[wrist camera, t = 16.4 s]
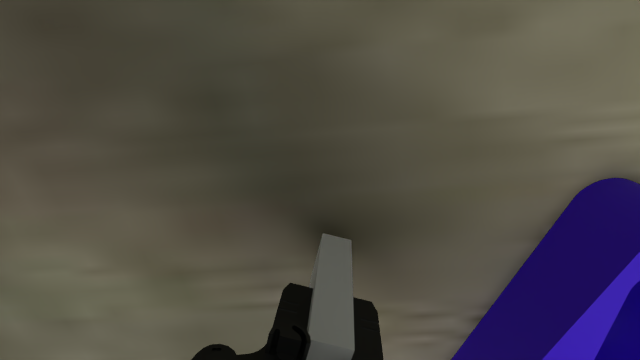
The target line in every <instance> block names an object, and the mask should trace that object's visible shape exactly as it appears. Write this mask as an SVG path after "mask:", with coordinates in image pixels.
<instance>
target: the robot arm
mask: <svg viewBox="0 0 640 360" xmlns="http://www.w3.org/2000/svg"><path fill="white" fill-rule="evenodd" d="M192 360H383V352H382V344H381V336H380V328H379V321H378V313H377V310H376V309H375V307H374V305H373V304H372V302H370V301H366V300H362V299H358V298H354V297H353V275H352V241H351V240H349V239H345V238H341V237H337V236H333V235H329V234H325V233H323V234H322V237H321V241H320V245H319V249H318V252H317V256H316V260H315V263H314V267H313V271H312V275H311V279H310V285H309V287H305V286H301V285H297V284H293V283H289V284H288V285H287V286H286V287H285V288H284V289H283V292H282V296H281V299H280V303H279V306H278V310H277V313H276V317H275V320H274V324H273V327H272V329H271V331H270V333H269V336H268V340H267V344H266V345H265V346H264V347H263V348H262V349H260V350H259V351H257V352H254V353H250V354H242V355H236V353H235V351H234V350H232V349H231V348H230V347H229V346H226V345H222V344H213V345H209V346H207V347H204V348H203V349H202V350H200V351H199V352H198V353H197V354H196V355H195V356H194V357H193V358H192Z"/></svg>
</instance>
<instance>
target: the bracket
mask: <svg viewBox="0 0 640 360" xmlns="http://www.w3.org/2000/svg"><path fill="white" fill-rule="evenodd" d="M451 360H640V184H638V183H636V182H633V181H631V180H627V179H623V178H609V179H604V180H600V181H598V182H595V183H593V184H591V185H589V186H587V187H586V188H584V189H583V190H582V191H580V192H579V193H578V194H577V195H576V196H575V197H574V198H573V200H572V201H571V202H570V204H569V205H568V206H567V208H566V209H565V210H564V212H563V213H562V214H561V216H560V217H559V218H558V220H557V221H556V222H555V224H554V225H553V226H552V227H551V229H550V230H549V231H548V233H547V234H546V235H545V237H544V238H543V239H542V241H541V242H540V243H539V245H538V246H537V247H536V249H535V250H534V251H533V253H532V254H531V255H530V256H529V258H528V259H527V260H526V262H525V263H524V264H523V266H522V267H521V268H520V270H519V271H518V272H517V274H516V275H515V276H514V278H513V279H512V280H511V282H510V283H509V284H508V285H507V287H506V288H505V289H504V291H503V292H502V293H501V295H500V296H499V297H498V299H497V300H496V301H495V303H494V304H493V305H492V307H491V308H490V309H489V311H488V312H487V313H486V314H485V316H484V317H483V318H482V320H481V321H480V322H479V324H478V325H477V326H476V328H475V329H474V330H473V332H472V333H471V334H470V336H469V337H468V338H467V340H466V341H465V342H464V343H463V345H462V346H461V347H460V349H459V350H458V351H457V353H456V354H455V355H454V357H453V358H452V359H451Z"/></svg>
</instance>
